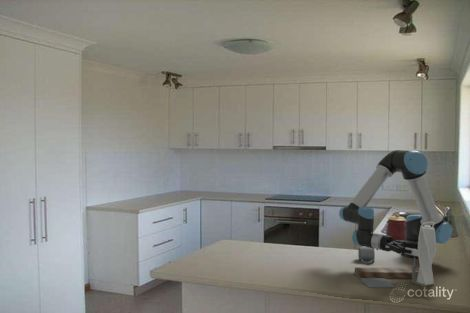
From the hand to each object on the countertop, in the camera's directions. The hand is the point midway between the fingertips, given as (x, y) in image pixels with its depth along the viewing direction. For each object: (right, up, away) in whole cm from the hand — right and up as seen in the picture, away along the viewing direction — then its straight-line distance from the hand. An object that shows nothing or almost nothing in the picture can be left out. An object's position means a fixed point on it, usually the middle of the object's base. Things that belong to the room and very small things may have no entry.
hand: (426, 251), depth 205 cm
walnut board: (-12, -14, +13) cm, 23 cm away
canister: (+19, -12, +92) cm, 94 cm away
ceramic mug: (-16, -13, +37) cm, 43 cm away
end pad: (-22, -14, 0) cm, 27 cm away
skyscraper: (0, -15, +1) cm, 15 cm away
